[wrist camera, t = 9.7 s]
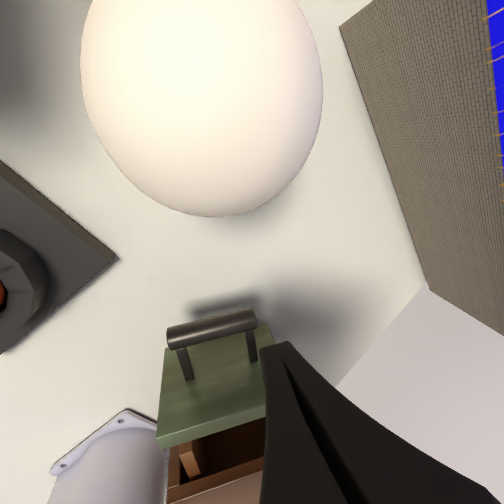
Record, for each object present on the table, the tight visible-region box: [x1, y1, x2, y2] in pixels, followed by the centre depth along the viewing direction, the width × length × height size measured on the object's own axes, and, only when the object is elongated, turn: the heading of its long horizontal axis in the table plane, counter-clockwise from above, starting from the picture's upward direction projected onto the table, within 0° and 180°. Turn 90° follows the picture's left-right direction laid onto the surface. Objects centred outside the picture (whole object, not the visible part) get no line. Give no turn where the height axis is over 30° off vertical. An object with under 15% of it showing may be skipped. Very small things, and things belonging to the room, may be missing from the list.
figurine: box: [80, 0, 323, 217], centre depth 10 cm, size 7×8×12 cm
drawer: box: [156, 307, 276, 482], centre depth 18 cm, size 14×8×7 cm, turn 7°
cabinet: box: [166, 445, 264, 504], centre depth 22 cm, size 11×10×9 cm
